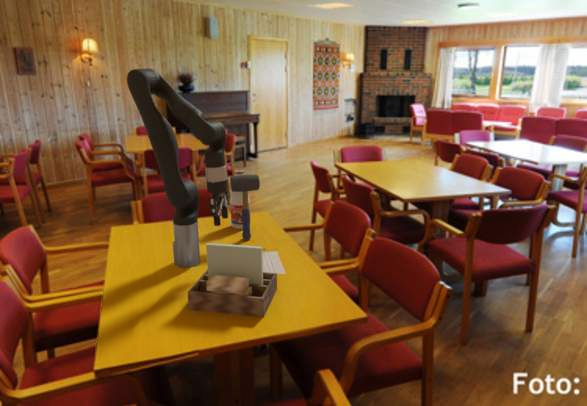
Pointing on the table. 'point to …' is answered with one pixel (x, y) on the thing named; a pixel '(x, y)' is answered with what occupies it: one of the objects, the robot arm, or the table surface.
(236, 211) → the fruit juice
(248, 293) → the offcut middle
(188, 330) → the table surface
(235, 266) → the tall sheet
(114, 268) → the table surface
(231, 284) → the offcut top
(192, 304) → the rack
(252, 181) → the rubber mallet
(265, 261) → the baseboard molding
